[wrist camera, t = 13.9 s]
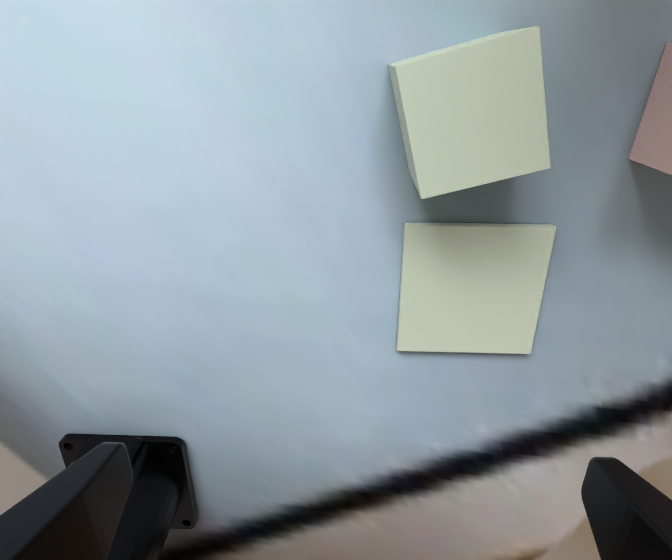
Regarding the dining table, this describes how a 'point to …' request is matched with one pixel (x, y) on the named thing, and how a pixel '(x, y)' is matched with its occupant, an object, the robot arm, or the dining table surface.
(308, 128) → the dining table surface
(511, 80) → the sage cube
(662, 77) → the cube rose
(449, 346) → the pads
